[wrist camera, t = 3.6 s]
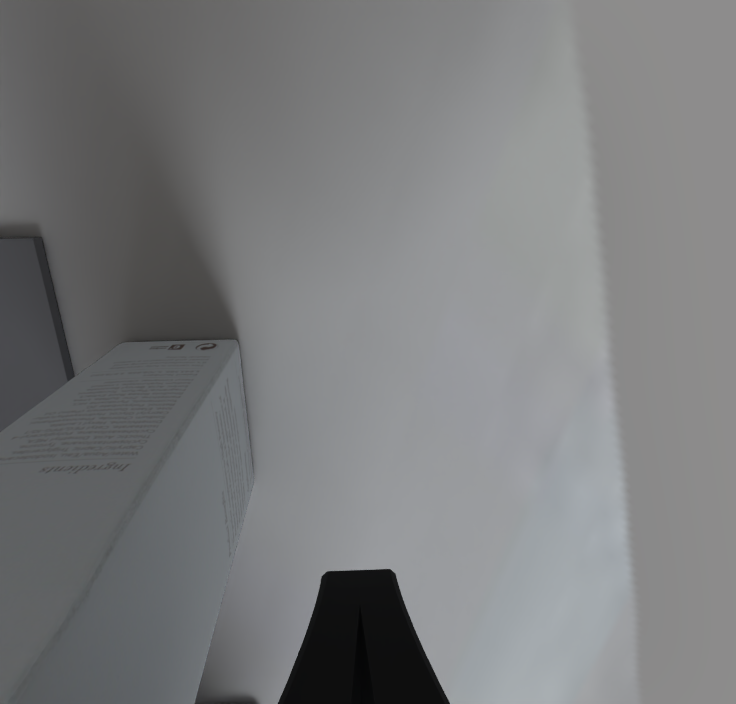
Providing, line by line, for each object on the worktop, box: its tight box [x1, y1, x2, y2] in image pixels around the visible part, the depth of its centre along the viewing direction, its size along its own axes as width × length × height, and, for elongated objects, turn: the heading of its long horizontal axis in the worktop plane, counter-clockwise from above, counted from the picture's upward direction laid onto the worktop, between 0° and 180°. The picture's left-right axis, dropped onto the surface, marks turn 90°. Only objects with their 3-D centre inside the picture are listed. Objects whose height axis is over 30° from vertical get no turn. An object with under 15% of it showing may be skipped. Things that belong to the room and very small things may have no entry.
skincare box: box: [0, 340, 254, 704], centre depth 11 cm, size 6×4×12 cm
